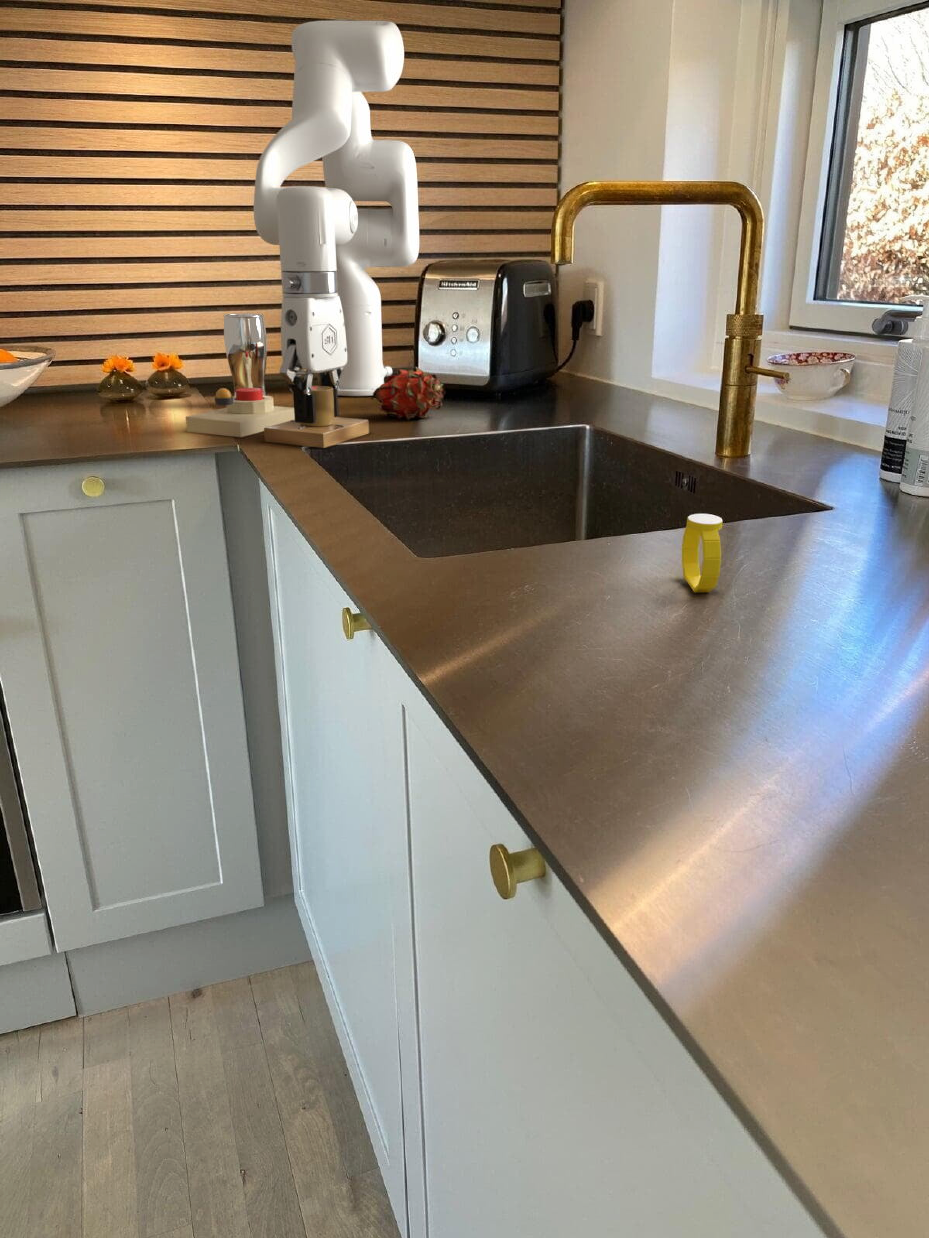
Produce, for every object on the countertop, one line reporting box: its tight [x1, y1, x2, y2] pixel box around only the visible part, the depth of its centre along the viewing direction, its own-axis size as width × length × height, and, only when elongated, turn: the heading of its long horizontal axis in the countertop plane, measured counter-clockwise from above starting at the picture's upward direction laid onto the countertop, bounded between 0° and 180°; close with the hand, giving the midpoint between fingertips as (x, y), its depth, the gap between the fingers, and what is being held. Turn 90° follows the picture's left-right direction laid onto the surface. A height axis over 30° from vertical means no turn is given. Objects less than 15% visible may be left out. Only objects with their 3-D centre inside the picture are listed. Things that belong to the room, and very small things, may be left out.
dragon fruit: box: [370, 366, 447, 421], centre depth 150 cm, size 8×8×12 cm
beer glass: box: [223, 313, 268, 397], centre depth 159 cm, size 7×7×15 cm
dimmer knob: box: [300, 385, 335, 426], centre depth 135 cm, size 5×5×5 cm
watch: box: [681, 513, 723, 594], centre depth 77 cm, size 6×3×6 cm, turn 4°
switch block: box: [185, 395, 295, 438], centre depth 143 cm, size 14×10×4 cm
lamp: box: [214, 387, 234, 406], centre depth 139 cm, size 3×3×2 cm
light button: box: [236, 388, 263, 401], centre depth 144 cm, size 4×4×2 cm
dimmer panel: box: [263, 416, 370, 449], centre depth 136 cm, size 12×10×2 cm
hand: (317, 418), depth 135 cm, fingers closed on dimmer knob, 5 cm apart
